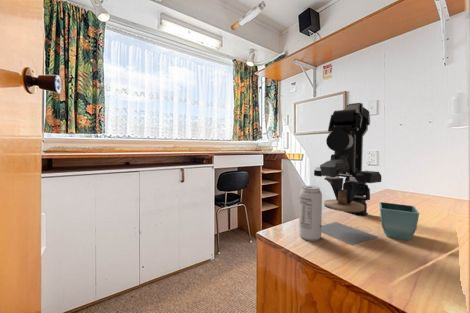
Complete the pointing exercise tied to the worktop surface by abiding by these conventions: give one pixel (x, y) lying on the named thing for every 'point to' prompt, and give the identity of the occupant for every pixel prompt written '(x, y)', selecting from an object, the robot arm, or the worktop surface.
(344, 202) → the lid
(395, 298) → the worktop surface
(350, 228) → the mat
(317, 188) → the energy drink can
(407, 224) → the flower pot
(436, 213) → the worktop surface
